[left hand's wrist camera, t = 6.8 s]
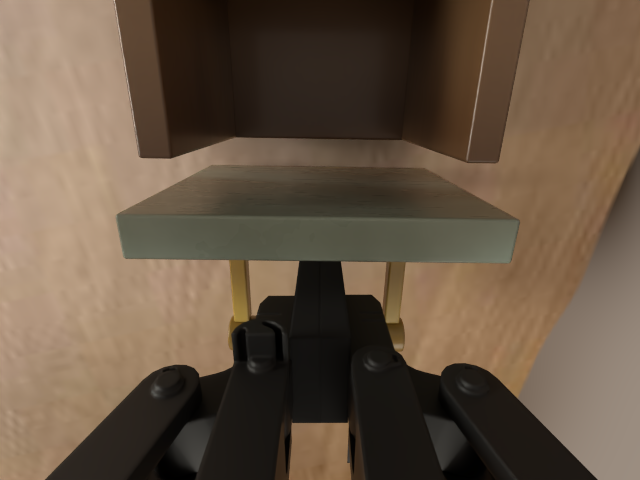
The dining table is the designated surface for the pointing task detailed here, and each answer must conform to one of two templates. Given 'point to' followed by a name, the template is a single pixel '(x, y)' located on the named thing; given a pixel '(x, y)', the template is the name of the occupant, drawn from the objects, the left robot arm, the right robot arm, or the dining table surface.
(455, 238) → the drawer
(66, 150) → the dining table surface
